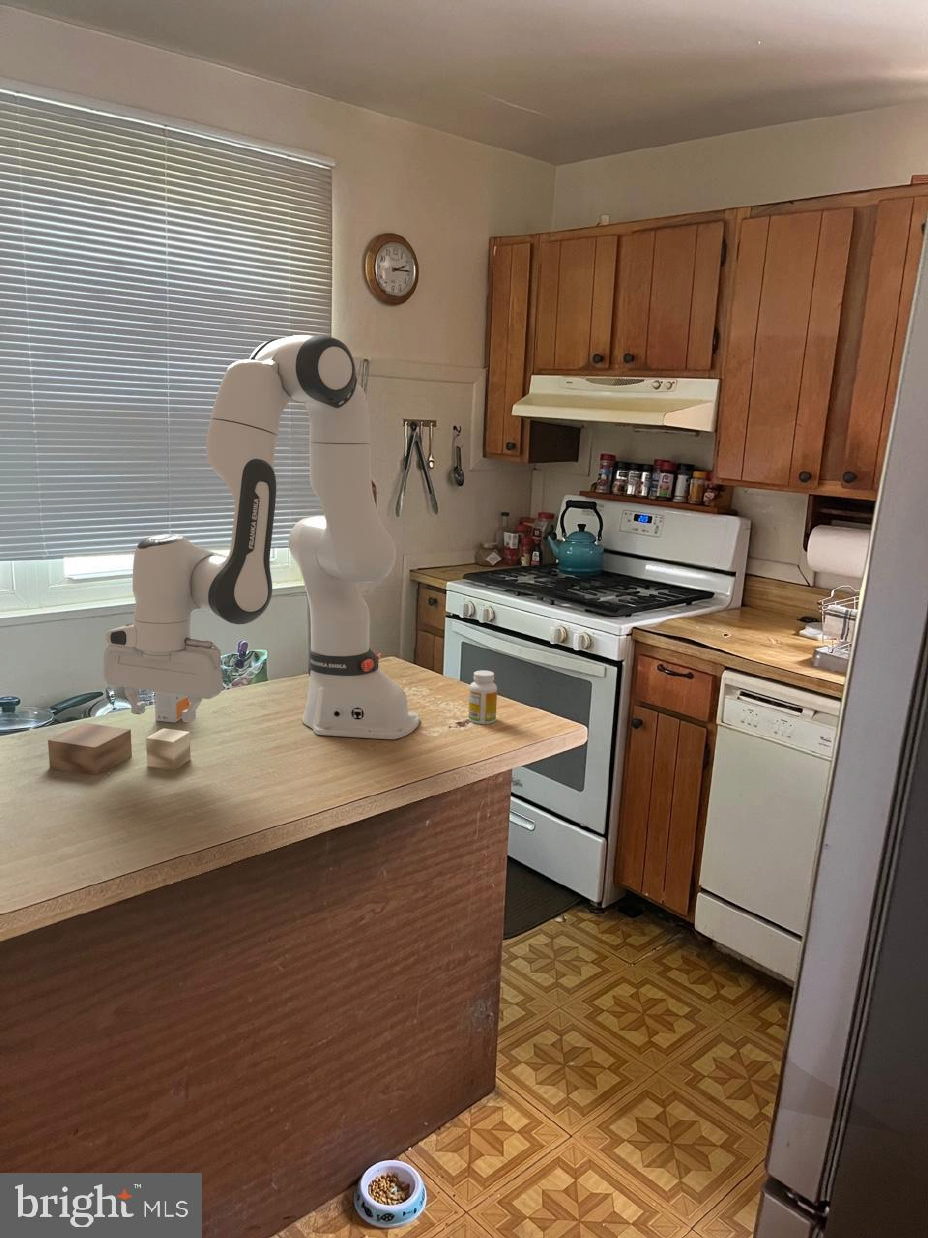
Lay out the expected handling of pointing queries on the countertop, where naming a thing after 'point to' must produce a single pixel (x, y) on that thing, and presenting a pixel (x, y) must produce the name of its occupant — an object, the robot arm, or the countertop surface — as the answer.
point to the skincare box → (170, 706)
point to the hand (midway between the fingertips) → (163, 717)
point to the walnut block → (90, 748)
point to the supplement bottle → (483, 698)
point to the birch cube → (168, 749)
